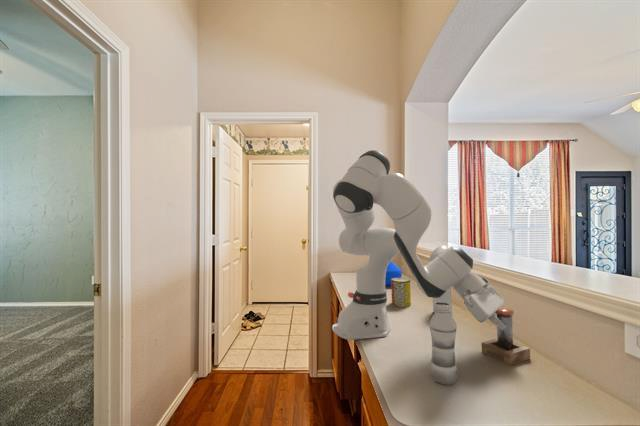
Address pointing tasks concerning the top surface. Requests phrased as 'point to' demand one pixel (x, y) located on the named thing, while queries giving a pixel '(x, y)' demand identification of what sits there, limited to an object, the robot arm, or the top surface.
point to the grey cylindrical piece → (506, 334)
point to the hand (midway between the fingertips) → (506, 325)
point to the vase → (392, 273)
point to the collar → (506, 352)
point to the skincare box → (444, 300)
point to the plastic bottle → (443, 345)
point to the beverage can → (401, 292)
